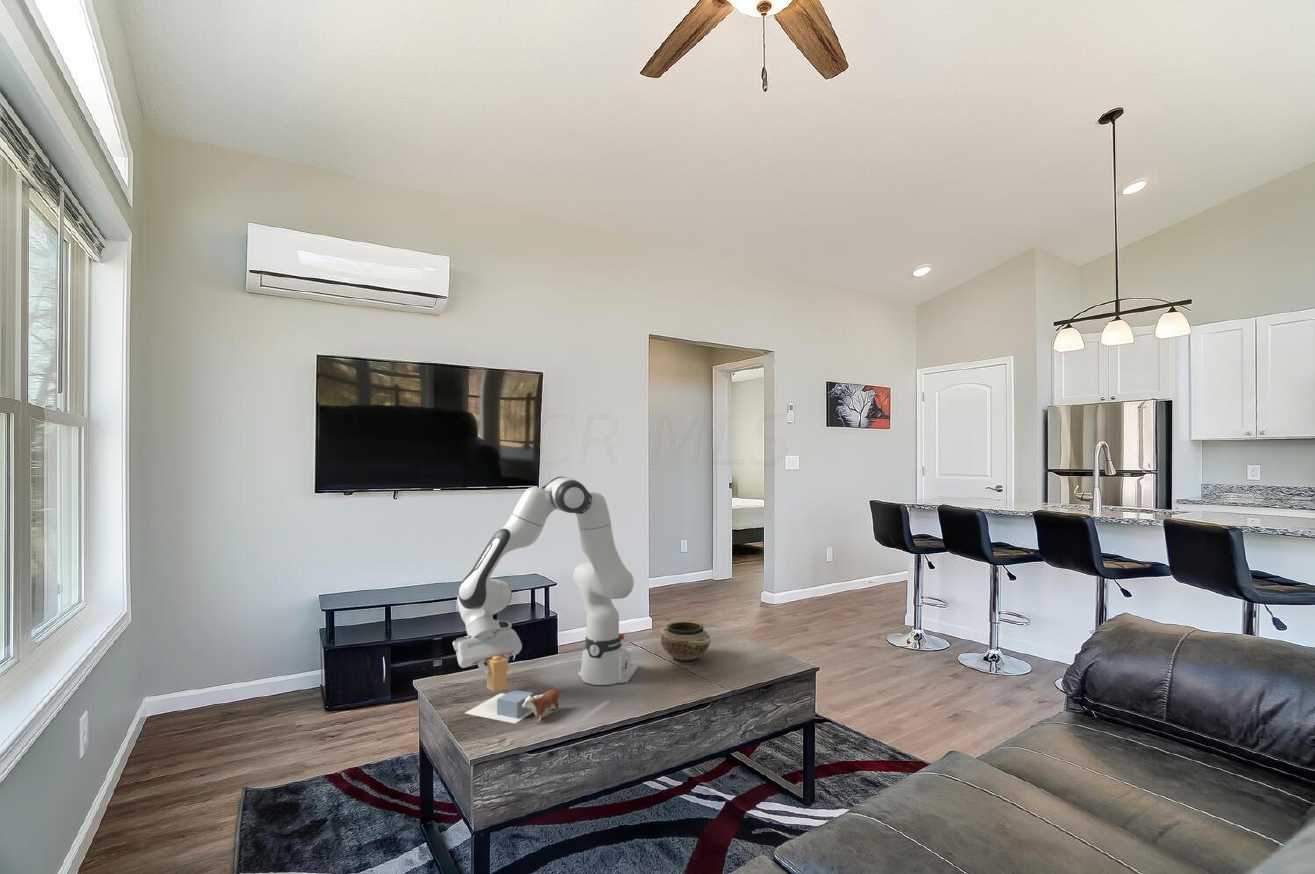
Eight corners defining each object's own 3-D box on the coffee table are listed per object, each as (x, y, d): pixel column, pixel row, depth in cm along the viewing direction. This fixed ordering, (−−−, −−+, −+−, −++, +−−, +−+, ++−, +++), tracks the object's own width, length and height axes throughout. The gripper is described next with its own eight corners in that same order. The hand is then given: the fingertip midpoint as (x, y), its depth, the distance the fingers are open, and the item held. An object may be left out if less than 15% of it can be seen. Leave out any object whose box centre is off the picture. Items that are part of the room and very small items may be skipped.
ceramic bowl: (652, 662, 243) (644, 625, 242) (688, 642, 253) (680, 607, 251) (691, 681, 223) (683, 641, 221) (729, 659, 233) (721, 620, 231)
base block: (513, 704, 193) (513, 689, 193) (533, 708, 190) (533, 693, 190) (497, 714, 186) (497, 698, 186) (517, 718, 183) (517, 702, 183)
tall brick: (487, 687, 195) (486, 656, 195) (500, 683, 198) (499, 653, 198) (493, 691, 192) (493, 660, 192) (506, 687, 195) (506, 656, 195)
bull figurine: (519, 725, 180) (519, 696, 180) (552, 710, 191) (552, 682, 192) (530, 729, 178) (530, 700, 178) (563, 713, 189) (563, 685, 189)
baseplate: (500, 696, 202) (500, 693, 202) (548, 705, 195) (548, 701, 195) (464, 716, 187) (464, 713, 187) (515, 727, 179) (515, 723, 179)
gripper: (454, 634, 194) (468, 674, 186) (514, 620, 207) (530, 658, 199) (448, 645, 197) (462, 686, 189) (508, 631, 210) (523, 669, 203)
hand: (497, 671), depth 194 cm, fingers closed on tall brick, 4 cm apart
